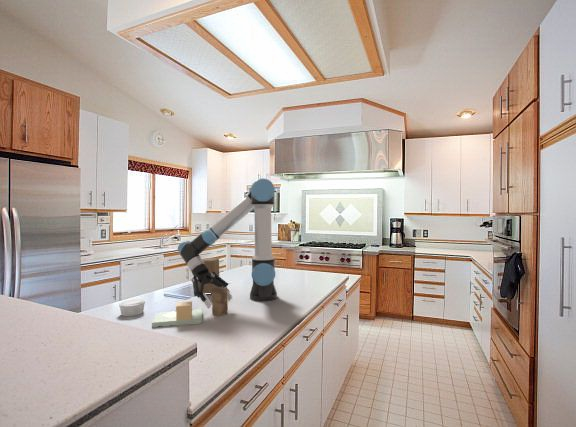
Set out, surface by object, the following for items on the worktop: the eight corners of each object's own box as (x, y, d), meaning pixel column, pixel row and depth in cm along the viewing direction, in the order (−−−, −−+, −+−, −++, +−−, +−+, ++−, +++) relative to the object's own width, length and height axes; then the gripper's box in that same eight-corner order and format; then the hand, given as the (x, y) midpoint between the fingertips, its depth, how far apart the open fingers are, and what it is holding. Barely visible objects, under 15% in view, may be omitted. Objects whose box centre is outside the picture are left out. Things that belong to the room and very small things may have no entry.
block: (213, 295, 186) (212, 260, 186) (197, 294, 188) (196, 260, 188) (220, 290, 196) (219, 258, 195) (204, 290, 198) (204, 257, 197)
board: (202, 313, 152) (202, 308, 152) (201, 323, 139) (201, 318, 139) (157, 316, 148) (157, 312, 148) (152, 327, 134) (151, 322, 134)
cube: (192, 314, 144) (191, 301, 144) (191, 319, 138) (190, 305, 138) (178, 316, 142) (177, 302, 142) (176, 320, 137) (176, 306, 137)
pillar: (219, 311, 154) (219, 286, 154) (227, 313, 152) (227, 288, 152) (212, 314, 150) (211, 288, 150) (220, 316, 148) (219, 290, 148)
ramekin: (132, 318, 147) (131, 306, 147) (113, 315, 150) (113, 304, 150) (150, 311, 157) (150, 300, 157) (132, 309, 161) (132, 298, 161)
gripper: (212, 268, 170) (234, 301, 162) (173, 277, 149) (196, 314, 141) (220, 259, 167) (242, 291, 159) (180, 266, 146) (204, 304, 138)
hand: (220, 302), depth 150 cm, fingers open, 13 cm apart
